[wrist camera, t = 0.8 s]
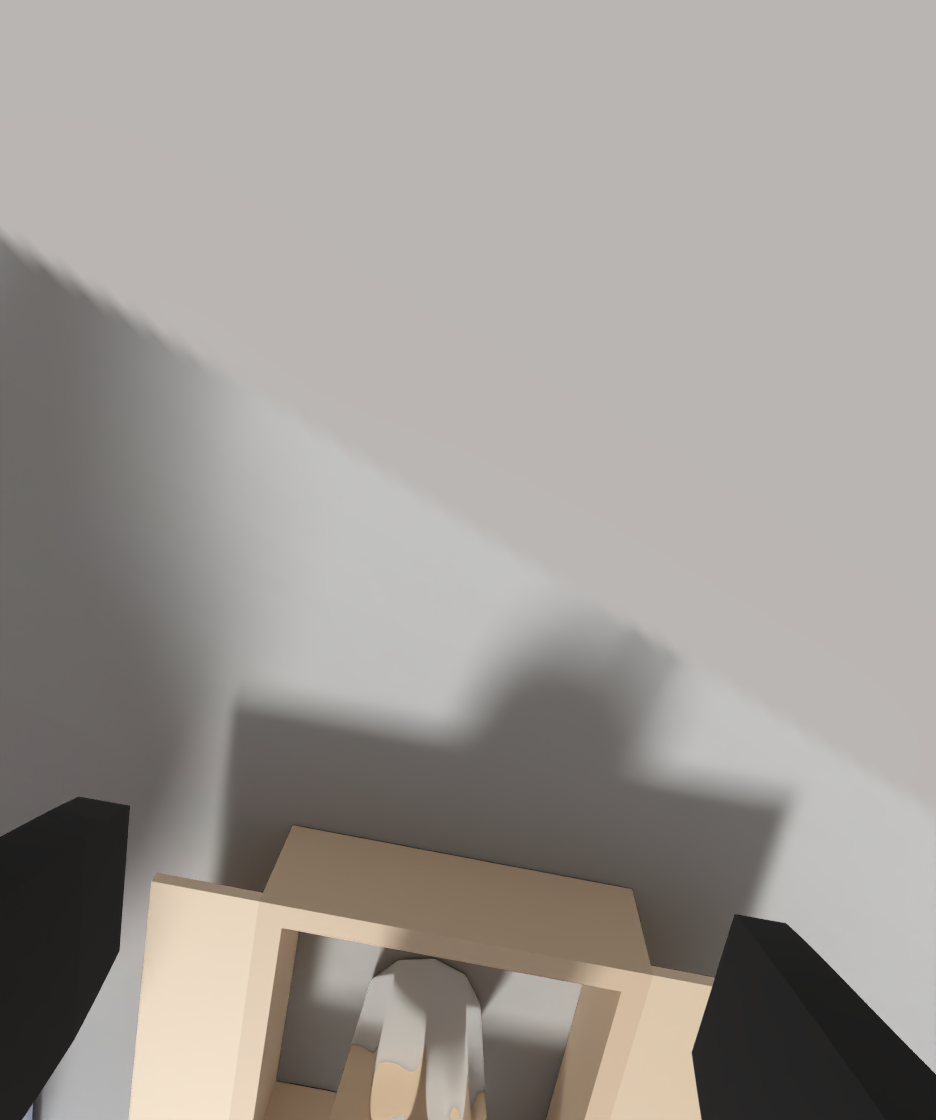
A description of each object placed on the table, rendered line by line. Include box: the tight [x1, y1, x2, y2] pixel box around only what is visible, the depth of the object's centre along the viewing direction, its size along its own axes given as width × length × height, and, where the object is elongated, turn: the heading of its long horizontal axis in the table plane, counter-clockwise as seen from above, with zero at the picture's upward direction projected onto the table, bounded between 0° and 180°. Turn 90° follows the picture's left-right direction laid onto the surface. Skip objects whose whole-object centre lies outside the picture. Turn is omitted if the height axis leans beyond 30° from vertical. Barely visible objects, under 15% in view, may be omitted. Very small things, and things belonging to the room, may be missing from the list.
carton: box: [129, 825, 715, 1120], centre depth 21 cm, size 9×14×3 cm, turn 80°
